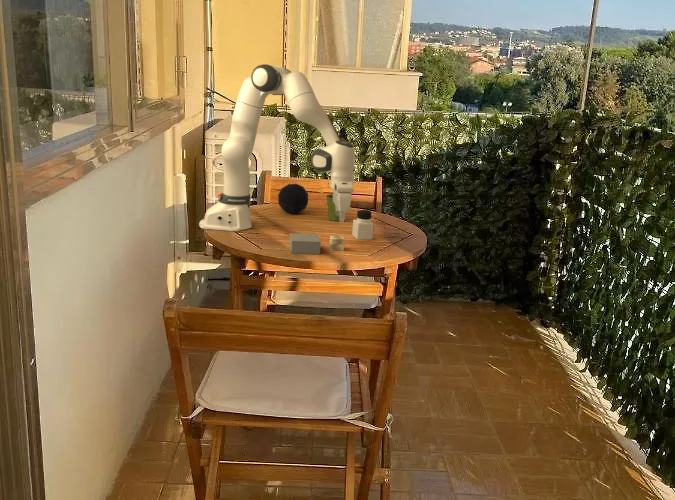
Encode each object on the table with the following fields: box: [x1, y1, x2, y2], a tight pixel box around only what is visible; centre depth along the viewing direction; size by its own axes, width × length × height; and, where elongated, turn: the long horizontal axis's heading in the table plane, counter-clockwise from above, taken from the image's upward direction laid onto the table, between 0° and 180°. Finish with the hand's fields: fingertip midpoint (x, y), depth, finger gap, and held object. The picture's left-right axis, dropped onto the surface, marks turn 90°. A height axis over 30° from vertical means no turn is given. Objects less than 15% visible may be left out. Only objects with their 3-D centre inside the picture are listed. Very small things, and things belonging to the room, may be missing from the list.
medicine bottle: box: [351, 209, 375, 241], centre depth 271 cm, size 7×7×12 cm
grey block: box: [288, 232, 321, 255], centre depth 248 cm, size 11×11×5 cm
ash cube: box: [328, 235, 345, 252], centre depth 252 cm, size 5×5×5 cm
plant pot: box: [325, 193, 340, 222], centre depth 299 cm, size 12×12×11 cm
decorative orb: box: [277, 183, 309, 215], centre depth 306 cm, size 14×15×15 cm
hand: (339, 218), depth 249 cm, fingers open, 8 cm apart
